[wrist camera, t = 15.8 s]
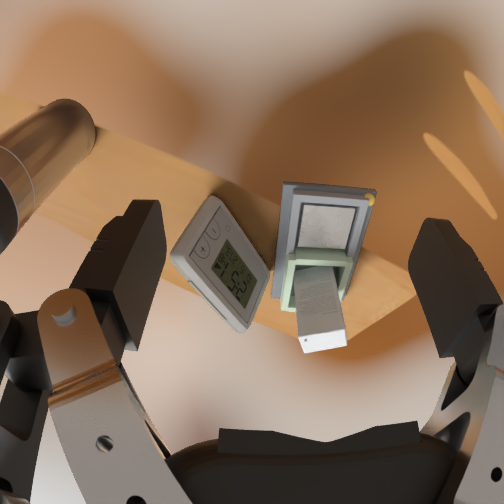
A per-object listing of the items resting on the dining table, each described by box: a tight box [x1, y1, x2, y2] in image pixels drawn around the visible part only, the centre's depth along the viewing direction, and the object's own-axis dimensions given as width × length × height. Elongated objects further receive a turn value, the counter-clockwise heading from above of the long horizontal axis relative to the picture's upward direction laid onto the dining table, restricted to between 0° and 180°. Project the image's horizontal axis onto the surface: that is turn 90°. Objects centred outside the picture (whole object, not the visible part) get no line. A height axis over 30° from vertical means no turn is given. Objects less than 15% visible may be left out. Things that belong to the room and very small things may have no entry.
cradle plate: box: [297, 202, 355, 249], centre depth 42 cm, size 7×7×1 cm
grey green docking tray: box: [271, 182, 377, 312], centre depth 45 cm, size 12×21×3 cm, turn 178°
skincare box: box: [293, 266, 347, 353], centre depth 44 cm, size 6×4×12 cm
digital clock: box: [170, 195, 270, 333], centre depth 42 cm, size 16×9×11 cm, turn 17°
